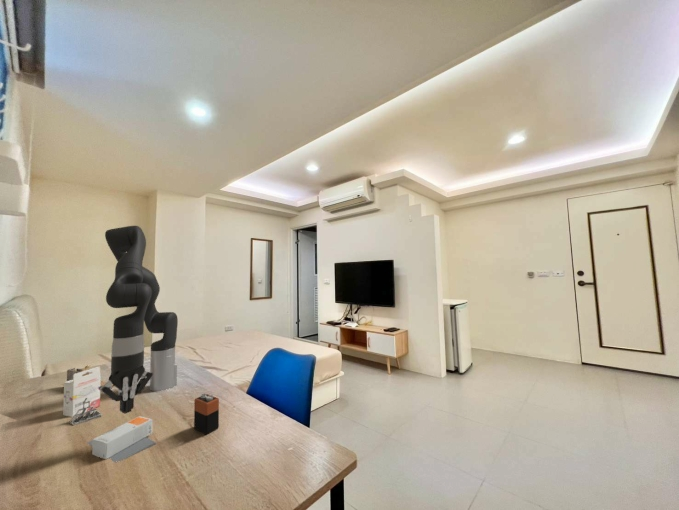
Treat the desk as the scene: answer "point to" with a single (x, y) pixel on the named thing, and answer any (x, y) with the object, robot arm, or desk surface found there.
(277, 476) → the desk surface
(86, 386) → the ink cartridge box
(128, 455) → the mat
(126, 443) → the skincare box
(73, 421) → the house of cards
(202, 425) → the battery
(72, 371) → the ruin model on sheet
